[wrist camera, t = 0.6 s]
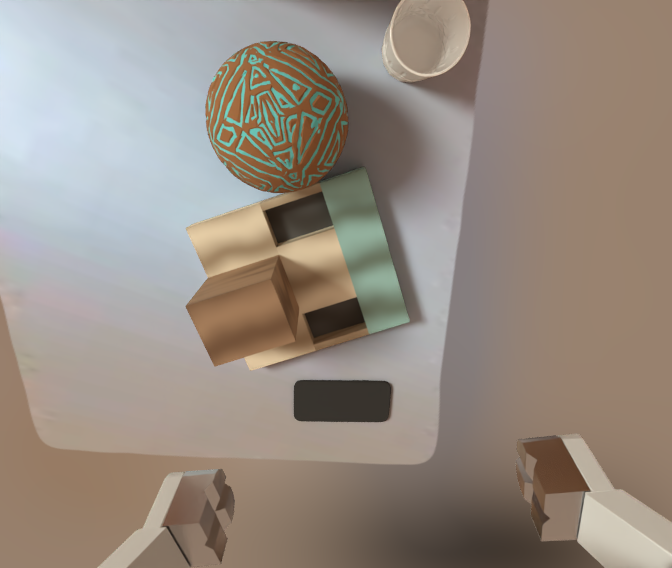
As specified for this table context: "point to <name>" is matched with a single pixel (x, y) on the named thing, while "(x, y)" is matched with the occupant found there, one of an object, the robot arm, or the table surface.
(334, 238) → the board
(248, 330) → the walnut block
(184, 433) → the table surface
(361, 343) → the table surface
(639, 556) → the robot arm
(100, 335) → the table surface
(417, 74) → the white cup
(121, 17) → the table surface
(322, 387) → the phone
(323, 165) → the decorative sphere
